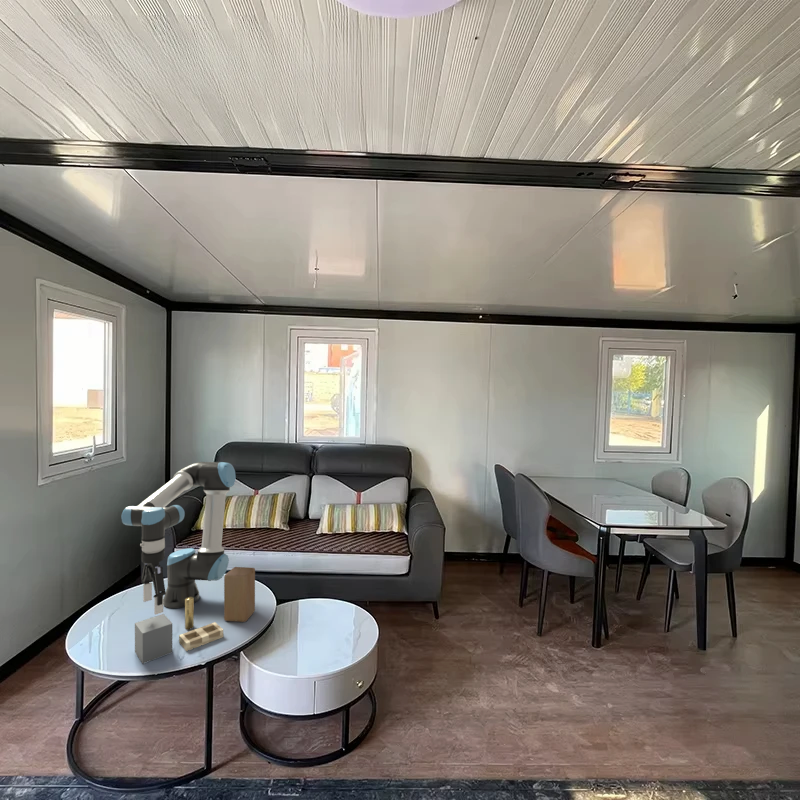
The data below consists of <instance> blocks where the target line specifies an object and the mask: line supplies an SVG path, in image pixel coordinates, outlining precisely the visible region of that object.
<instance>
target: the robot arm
mask: <svg viewBox="0 0 800 800" xmlns="http://www.w3.org/2000/svg"><path fill="white" fill-rule="evenodd" d="M236 480H237V479H236V470H235V468H234V466H233V464H232V463H230V462H223V461H199V462H198V461H196V462H194V463H191V464H189V465H187V466H185V467H183V468H181V469H180V470H178V471H176V473H174V475H173V477H172V479H170V480H169V481H168V482H166V483H165V484H164V485H162V486H161V487H160V488H158V489H157V490H156V491H154V492H153V493H151V494H150V495H149V496H147V498H145V499H144V500H142V501H141V502H140V503H139V504H137V505H129V506H126V507H125V508H124V509H123V510H122V513H121V515H120V516H121V518H120V519H121V523H122V524H123V525H125V526H131V527H141V543H140V544H139V546H140V547H141V551H142V552H141V563H143V568H142V574H141V579H140V580H141V581H142V584H143V585H142V586H143V587H142V588H143V594H142V596H143V597H142V598H143V603H146V602H149V601H153V598H154V609H153V611H154V615H156V616H157V615H158V614H159V615H160V614H163V613H164V607H166V608H170V609H178V608H179V609H180V608H185V599H186V598H188V597H193V598H194V604H195V603H196V602H198V601H199V599H200V591H199V589H198V586H197V583H196V581H208V582H212V581H220V580H222V578H224V576H225V575H226V573H227V570H228V566H229V561H230V560H229V555H228V554H226V553H225V548H224V546H222V543H223V542H222V541H223V533H224V532H223V531H224V530H223V529H224V522H225V521H224V520H225V519H224V518H225V509H226V508H225V507H226V499H227V498H226V496H227V494H228V493H229V492H230V488H232V487H234V485H235V483H236ZM193 487H203V490H202V491H203V492H204V493H205V495H206V496H205V505H204V506H205V508H204V519H203V528H202V529H203V530H202V539H201V540H202V541H201V546H200V548H199V549H198V550H197V552H196V549H194V548H193V547H190V548H182V549H179V550H175V551H174V552H171V553H170V554H169V556H167V564H166V566H167V567H166V568H167V573H166V574H167V586H166V587H165V580H164V578H165V577H164V573H163V572H164V571H163V570H164V567H163V566H161V565H160V562H162V561H163V560H165V559H166V558H165V557H166V556H165V554H166V553H165V548H166V541H165V540H166V538H165V533H166V531H165V530H167V529H169V528H172V527H173V526H176V525H178V524H179V523H181V522H182V521H183V520H184V519H185V514H186V513H185V510H184V508H183V507H182V506H181V505H179V504H173V505H169V504H170V503H171V502H172V501H174V500H175V499H176V498H178V496H180V495H181V494H182V493H183V492H184V491H188V490H190V489H191V488H193ZM168 505H169V506H168ZM153 589H154V595H153V594H152V593H153Z"/></svg>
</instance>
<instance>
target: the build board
mask: <svg viewBox="0 0 800 800" xmlns="http://www.w3.org/2000/svg"><path fill="white" fill-rule="evenodd" d="M222 638H224V628H222V627H221V625H219V624H218V623H217V622H216V621H214V622H212V623H209V624H207V625H202V626H200V627H198V628H196V629H195V628H194V629H191V630H189V631H187V632H184V633H181V634H179V635H178V644H179V645H181V647H182V648H183V649H184V650H185V652H189V651H191V650H194V649H197V648H198V647H199V648H200V647H201V645H202V646H204V645H207V644H209V643H211V642H215V641H216V640H219V639H222ZM193 648H194V649H193ZM188 650H189V651H188Z"/></svg>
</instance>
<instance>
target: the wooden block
mask: <svg viewBox="0 0 800 800" xmlns="http://www.w3.org/2000/svg"><path fill="white" fill-rule="evenodd" d="M223 581H224V583H223V584H224V585H223V589H224V591H223V593H224V594H223V596H224V598H223V599H224V600H223V604H224V605H223V606H224V607H223V609H224V611H223V612H224V613H223V615H224V616H223V618H224V621H226V622H237V623H238V622H240V623H246V622H247V621H248V620H249V619H250V618H251V616H252V615H254V612H255V611H256V569H255V567H248V566H247V567H246V566H244V567H242V566H235V567H233V568H231V570H229V571H228V572H226V573H225V574H224V576H223Z"/></svg>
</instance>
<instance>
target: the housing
mask: <svg viewBox="0 0 800 800" xmlns="http://www.w3.org/2000/svg"><path fill="white" fill-rule="evenodd" d="M134 653H135V654H136V656H137V658H138V659H139V660H140V662H141V663H142V664H146V663H149V662H151V661H154V660H157V659H159V658H161V657H164V656H166V655H169V654H172V653H173V622H172V621H171V620H170V618H168V617H167V615H165V614H164V613H161V614H159V615H158V614H157V615H156V616H152V617H149V618H147V619H143V620H140V621H137V622H135V623H134ZM142 664H141V665H142Z"/></svg>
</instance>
